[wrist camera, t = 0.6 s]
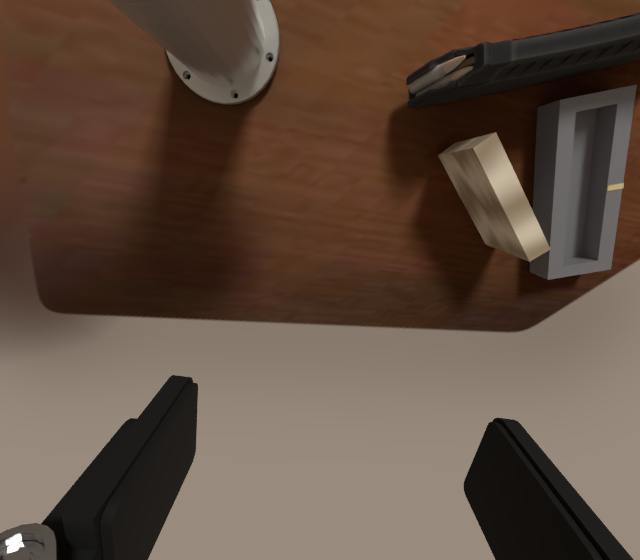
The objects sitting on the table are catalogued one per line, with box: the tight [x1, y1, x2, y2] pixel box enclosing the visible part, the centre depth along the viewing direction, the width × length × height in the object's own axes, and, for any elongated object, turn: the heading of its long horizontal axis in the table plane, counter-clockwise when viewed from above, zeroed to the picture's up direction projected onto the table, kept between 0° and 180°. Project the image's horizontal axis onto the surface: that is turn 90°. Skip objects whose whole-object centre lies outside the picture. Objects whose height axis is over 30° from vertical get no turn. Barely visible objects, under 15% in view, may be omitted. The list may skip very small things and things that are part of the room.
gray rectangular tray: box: [530, 84, 637, 280], centre depth 37 cm, size 21×8×4 cm, turn 10°
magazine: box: [406, 13, 640, 109], centre depth 29 cm, size 17×3×30 cm
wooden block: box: [438, 132, 550, 262], centre depth 34 cm, size 14×3×9 cm, turn 35°
